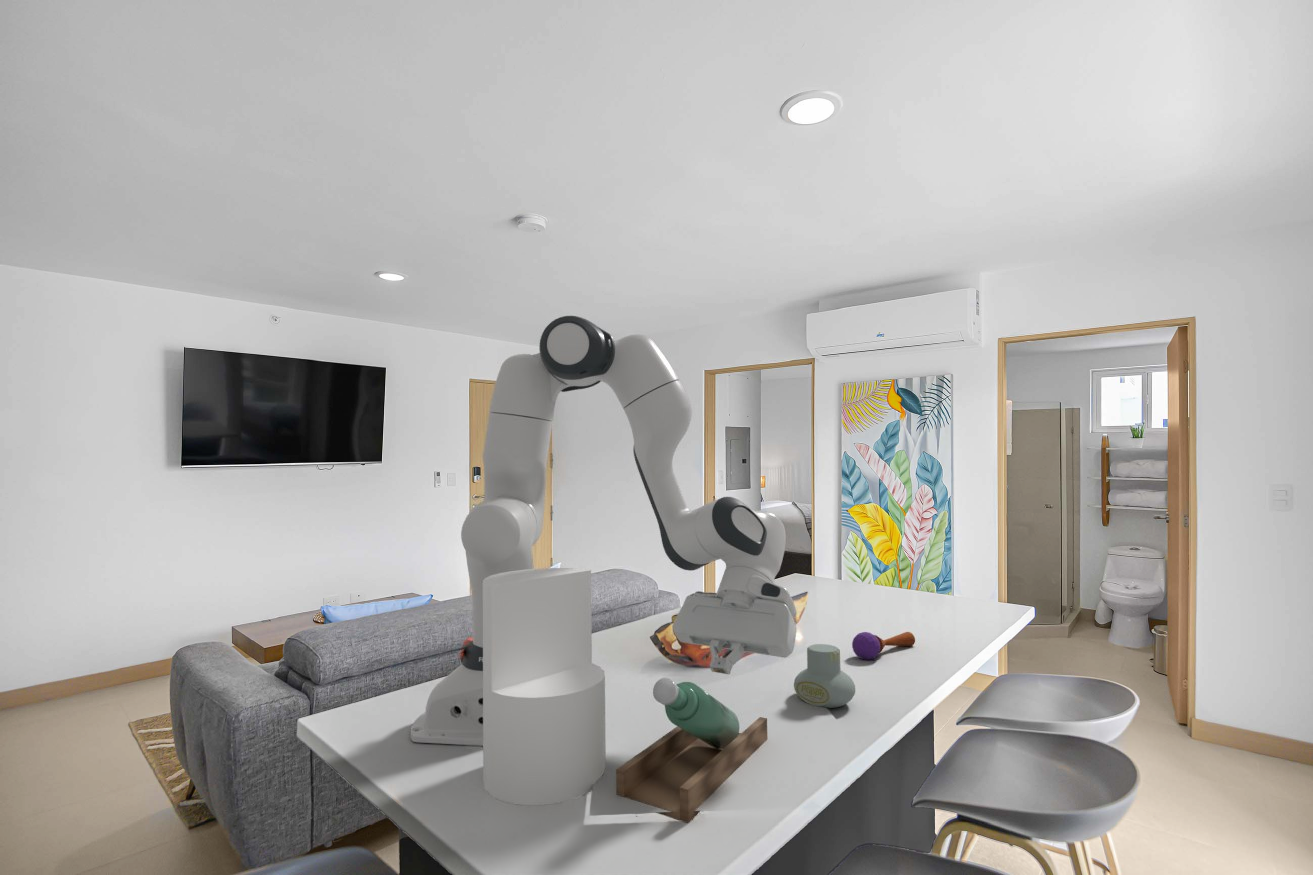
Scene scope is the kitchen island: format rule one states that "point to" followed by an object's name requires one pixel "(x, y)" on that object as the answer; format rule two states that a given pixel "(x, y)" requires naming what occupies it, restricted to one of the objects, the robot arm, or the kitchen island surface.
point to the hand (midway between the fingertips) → (719, 671)
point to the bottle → (697, 712)
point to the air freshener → (824, 678)
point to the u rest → (685, 770)
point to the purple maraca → (878, 643)
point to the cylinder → (541, 687)
